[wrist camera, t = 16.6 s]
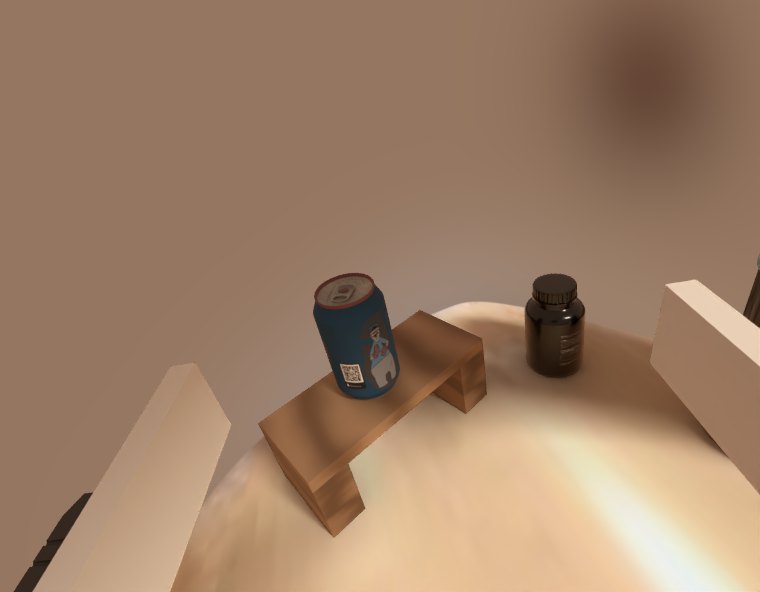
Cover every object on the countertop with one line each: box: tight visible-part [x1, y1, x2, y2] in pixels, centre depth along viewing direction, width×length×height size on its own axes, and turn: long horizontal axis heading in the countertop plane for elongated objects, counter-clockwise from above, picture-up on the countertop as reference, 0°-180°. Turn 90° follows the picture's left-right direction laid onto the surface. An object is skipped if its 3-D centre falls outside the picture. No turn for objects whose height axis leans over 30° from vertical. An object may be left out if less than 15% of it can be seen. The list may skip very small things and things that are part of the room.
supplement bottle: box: [525, 274, 585, 377], centre depth 51 cm, size 7×7×12 cm
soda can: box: [313, 273, 400, 401], centre depth 42 cm, size 7×7×12 cm
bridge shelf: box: [259, 310, 487, 537], centre depth 48 cm, size 24×10×9 cm, turn 131°
